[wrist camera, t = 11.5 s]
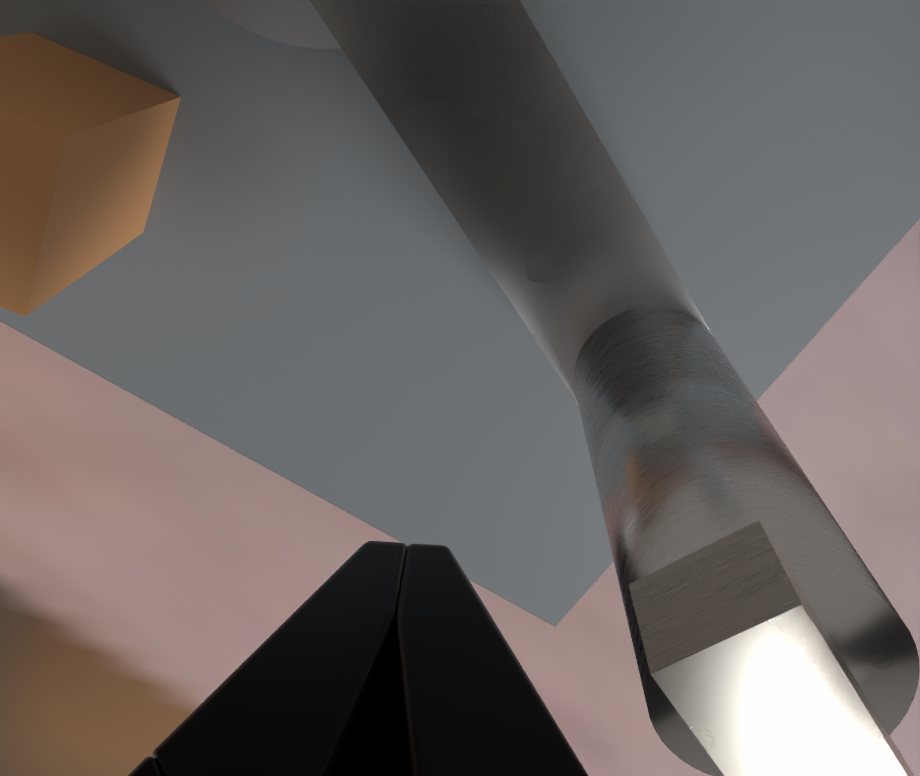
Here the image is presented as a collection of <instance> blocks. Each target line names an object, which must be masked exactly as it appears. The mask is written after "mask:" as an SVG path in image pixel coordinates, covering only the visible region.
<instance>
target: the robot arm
mask: <svg viewBox="0 0 920 776" xmlns="http://www.w3.org/2000/svg"><path fill="white" fill-rule="evenodd" d="M128 776H588V774H587V773H586V771H585V769H584V768H583V766H582V764H581V763H580V761H579V760H578V758H577V756H576V755H575V753H574V751H573V750H572V748H571V746H570V745H569V743H568V742H567V740H566V738H565V737H564V735H563V733H562V732H561V730H560V728H559V727H558V725H557V724H556V722H555V720H554V719H553V717H552V715H551V714H550V712H549V710H548V709H547V707H546V706H545V704H544V702H543V701H542V699H541V697H540V696H539V694H538V692H537V691H536V689H535V688H534V686H533V684H532V683H531V681H530V679H529V678H528V676H527V674H526V673H525V671H524V670H523V668H522V666H521V665H520V663H519V661H518V660H517V658H516V656H515V655H514V653H513V652H512V650H511V648H510V647H509V645H508V643H507V642H506V640H505V638H504V637H503V635H502V634H501V632H500V630H499V629H498V627H497V625H496V624H495V622H494V620H493V619H492V617H491V616H490V614H489V612H488V611H487V609H486V607H485V606H484V604H483V602H482V601H481V599H480V597H479V596H478V594H477V593H476V591H475V589H474V588H473V586H472V584H471V583H470V581H469V579H468V578H467V576H466V575H465V573H464V571H463V570H462V568H461V566H460V565H459V563H458V561H457V560H456V558H455V557H454V555H453V553H452V552H451V550H450V549H449V548H448V547H447V546H444V545H431V544H410V545H408V546H407V545H405V544H404V543H396V542H380V541H369V542H367V543H365V544H364V545H362V546H361V547H360V548H359V549H358V550H357V551H356V552H355V553H354V554H353V555H352V556H351V557H350V558H349V559H348V560H347V561H346V562H345V563H344V564H343V565H342V566H341V567H340V568H339V569H338V570H337V571H336V572H335V573H334V574H333V575H332V576H331V577H330V578H329V579H328V580H327V581H326V582H325V583H324V584H323V585H322V586H321V587H320V588H319V589H318V590H317V591H316V592H315V593H314V594H313V595H312V596H311V597H310V598H309V599H308V600H306V601H305V602H304V603H303V604H302V605H301V606H300V607H299V608H298V609H297V610H296V611H295V612H294V613H293V614H292V615H291V616H290V617H289V618H288V619H287V620H286V621H285V622H284V623H283V624H282V625H281V626H280V627H279V628H278V629H277V630H276V631H275V632H274V633H273V634H272V635H271V636H270V637H269V638H268V639H267V640H266V641H265V642H264V643H263V644H262V645H261V646H260V647H259V648H258V649H257V650H256V651H255V652H254V653H253V654H252V655H251V656H250V657H249V658H248V659H246V660H245V661H244V662H243V663H242V664H241V665H240V666H239V667H238V668H237V669H236V670H235V671H234V672H233V673H232V674H231V675H230V676H229V677H228V678H227V679H226V680H225V681H224V682H223V683H222V684H221V685H220V686H219V687H218V688H217V689H216V690H215V691H214V692H213V693H212V694H211V695H210V696H209V697H208V698H207V699H206V700H205V701H204V702H203V703H202V704H201V705H200V706H199V707H198V708H197V709H196V710H195V711H194V712H193V713H192V714H191V715H190V716H189V717H187V719H185V720H184V721H183V722H182V724H180V725H179V726H178V727H177V728H176V729H175V730H174V731H173V732H172V733H171V734H170V735H169V736H168V737H167V738H166V739H165V740H164V741H163V742H162V743H161V744H160V745H159V746H158V747H157V748H156V749H155V750H154V752H153V757H147V758H145V759H144V760H143V761H142V762H141V763H140V764H139V765H138V766H137V767H136V768H135V769H134V770H133V771H132V772H131V773H130V774H129V775H128Z"/></svg>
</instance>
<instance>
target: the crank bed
mask: <svg viewBox="0 0 920 776" xmlns="http://www.w3.org/2000/svg"><path fill="white" fill-rule="evenodd" d="M520 1H521V3H522V5H523V6H524V8H525V10H526V12H527V13H528V15H529V17H530V19H531V20H532V22H533V24H534V25H535V27H536V29H537V31H538V32H539V34H540V36H541V38H542V39H543V41H544V43H545V45H546V46H547V48H548V50H549V52H550V53H551V55H552V57H553V58H554V60H555V62H556V64H557V65H558V67H559V69H560V71H561V72H562V74H563V76H564V78H565V79H566V81H567V83H568V85H569V86H570V88H571V90H572V91H573V93H574V95H575V97H576V98H577V100H578V102H579V104H580V105H581V107H582V109H583V111H584V112H585V114H586V116H587V118H588V119H589V121H590V123H591V124H592V126H593V128H594V130H595V131H596V133H597V135H598V137H599V138H600V140H601V142H602V144H603V145H604V147H605V149H606V151H607V152H608V154H609V156H610V157H611V159H612V161H613V163H614V164H615V166H616V168H617V170H618V171H619V173H620V175H621V177H622V178H623V180H624V182H625V184H626V185H627V187H628V189H629V190H630V192H631V194H632V196H633V197H634V199H635V201H636V203H637V204H638V206H639V208H640V210H641V211H642V213H643V215H644V217H645V218H646V220H647V222H648V223H649V225H650V227H651V229H652V230H653V232H654V234H655V236H656V237H657V239H658V241H659V243H660V244H661V246H662V248H663V250H664V251H665V253H666V255H667V256H668V258H669V260H670V262H671V263H672V265H673V267H674V269H675V270H676V272H677V274H678V276H679V277H680V279H681V281H682V283H683V284H684V286H685V288H686V289H687V291H688V293H689V295H690V296H691V298H692V300H693V302H694V303H695V305H696V307H697V309H698V310H699V312H700V314H701V316H702V317H703V319H704V321H705V322H706V324H707V326H708V328H709V329H710V331H711V333H712V335H713V336H714V338H715V340H716V341H717V343H718V344H719V346H720V347H721V349H722V350H723V352H724V353H725V355H726V356H727V358H728V359H729V361H730V362H731V364H732V365H733V367H734V368H735V370H736V371H737V373H738V374H739V376H740V377H741V379H742V380H743V382H744V383H745V385H746V386H747V388H748V389H749V391H750V392H751V394H752V395H753V397H754V398H755V400H756V401H757V400H758V399H759V398H760V397H761V395H762V394H763V393H764V392H765V391H766V390H767V389H768V388H769V387H770V385H771V384H772V383H773V382H774V381H775V380H776V379H777V378H778V376H779V375H780V374H781V373H782V372H783V371H784V370H785V369H786V367H787V366H788V365H789V364H790V363H791V362H792V361H793V360H794V358H795V357H796V356H797V355H798V354H799V353H800V352H801V351H802V350H803V348H804V347H805V346H806V345H807V344H808V343H809V342H810V341H811V339H812V338H813V337H814V336H815V335H816V334H817V333H818V332H819V330H820V329H821V328H822V327H823V326H824V325H825V324H826V323H827V322H828V320H829V319H830V318H831V317H832V316H833V315H834V314H835V313H836V311H837V310H838V309H839V308H840V307H841V306H842V305H843V304H844V302H845V301H846V300H847V299H848V298H849V297H850V296H851V295H852V294H853V292H854V291H855V290H856V289H857V288H858V287H859V286H860V285H861V283H862V282H863V281H864V280H865V279H866V278H867V277H868V276H869V274H870V273H871V272H872V271H873V270H874V269H875V268H876V267H877V266H878V264H879V263H880V262H881V261H882V260H883V259H884V258H885V257H886V255H887V254H888V253H889V252H890V251H891V250H892V249H893V248H894V246H895V245H896V244H897V243H898V242H899V241H900V240H901V239H902V238H903V236H904V235H905V234H906V233H907V232H908V231H909V230H910V229H911V227H912V226H913V225H914V224H915V223H916V222H917V221H918V220H919V218H920V0H520ZM0 321H1V322H3V323H4V324H6V325H8V326H10V327H12V328H13V329H15V330H17V331H19V332H21V333H23V334H24V335H26V336H28V337H30V338H32V339H33V340H35V341H37V342H39V343H41V344H43V345H44V346H46V347H48V348H50V349H52V350H53V351H55V352H57V353H59V354H61V355H63V356H64V357H66V358H68V359H70V360H72V361H73V362H75V363H77V364H79V365H81V366H82V367H84V368H86V369H88V370H90V371H92V372H93V373H95V374H97V375H99V376H101V377H102V378H104V379H106V380H108V381H110V382H112V383H113V384H115V385H117V386H119V387H121V388H122V389H124V390H126V391H128V392H130V393H132V394H133V395H135V396H137V397H139V398H141V399H142V400H144V401H146V402H148V403H150V404H151V405H153V406H155V407H157V408H159V409H161V410H162V411H164V412H166V413H168V414H170V415H171V416H173V417H175V418H177V419H179V420H181V421H182V422H184V423H186V424H188V425H190V426H191V427H193V428H195V429H197V430H199V431H201V432H202V433H204V434H206V435H208V436H210V437H211V438H213V439H215V440H217V441H219V442H221V443H222V444H224V445H226V446H228V447H230V448H231V449H233V450H235V451H237V452H239V453H240V454H242V455H244V456H246V457H248V458H250V459H251V460H253V461H255V462H257V463H259V464H260V465H262V466H264V467H266V468H268V469H270V470H271V471H273V472H275V473H277V474H279V475H280V476H282V477H284V478H286V479H288V480H290V481H291V482H293V483H295V484H297V485H299V486H300V487H302V488H304V489H306V490H308V491H309V492H311V493H313V494H315V495H317V496H319V497H320V498H322V499H324V500H326V501H328V502H329V503H331V504H333V505H335V506H337V507H339V508H340V509H342V510H344V511H346V512H348V513H349V514H351V515H353V516H355V517H357V518H359V519H360V520H362V521H364V522H366V523H368V524H369V525H371V526H373V527H375V528H377V529H378V530H380V531H382V532H384V533H386V534H388V535H389V536H391V537H393V538H395V539H397V540H398V541H400V542H402V543H404V544H406V545H410V544H431V545H444V546H447V547H448V548H449V549H450V550H451V552H452V553H453V555H454V557H455V558H456V560H457V561H458V563H459V565H460V566H461V568H462V570H463V571H464V573H465V575H466V576H467V578H468V579H469V580H471V581H473V582H475V583H477V584H478V585H480V586H482V587H484V588H486V589H487V590H489V591H491V592H493V593H495V594H497V595H498V596H500V597H502V598H504V599H506V600H507V601H509V602H511V603H513V604H515V605H516V606H518V607H520V608H522V609H524V610H526V611H527V612H529V613H531V614H533V615H535V616H536V617H538V618H540V619H542V620H544V621H546V622H547V623H549V624H551V625H553V626H556V625H557V624H558V623H559V622H560V621H561V619H562V618H563V617H564V616H565V615H566V614H567V613H568V612H569V611H570V609H571V608H572V607H573V606H574V605H575V604H576V603H577V602H578V600H579V599H580V598H581V597H582V596H583V595H584V594H585V593H586V591H587V590H588V589H589V588H590V587H591V586H592V585H593V584H594V583H595V581H596V580H597V579H598V578H599V577H600V576H601V575H602V574H603V572H604V571H605V570H606V569H607V568H608V567H609V566H610V565H611V563H612V562H613V561H614V559H613V555H612V551H611V546H610V542H609V537H608V533H607V529H606V524H605V520H604V516H603V511H602V507H601V503H600V498H599V494H598V490H597V485H596V481H595V476H594V472H593V468H592V463H591V459H590V455H589V450H588V446H587V442H586V437H585V433H584V428H583V424H582V420H581V415H580V411H579V407H578V403H577V402H576V400H575V399H574V397H573V396H572V394H571V393H570V391H569V390H568V388H567V387H566V385H565V384H564V382H563V381H562V379H561V378H560V376H559V375H558V373H557V372H556V370H555V368H554V367H553V365H552V364H551V362H550V361H549V359H548V358H547V356H546V355H545V353H544V352H543V350H542V349H541V347H540V346H539V344H538V343H537V341H536V340H535V338H534V337H533V335H532V334H531V332H530V331H529V329H528V328H527V326H526V325H525V323H524V322H523V320H522V319H521V317H520V316H519V314H518V313H517V311H516V310H515V308H514V307H513V305H512V304H511V302H510V301H509V299H508V298H507V296H506V295H505V293H504V292H503V290H502V289H501V287H500V286H499V284H498V283H497V281H496V280H495V278H494V277H493V275H492V274H491V272H490V271H489V269H488V268H487V266H486V265H485V263H484V262H483V260H482V259H481V257H480V256H479V254H478V253H477V251H476V250H475V248H474V247H473V245H472V244H471V242H470V241H469V239H468V238H467V236H466V235H465V233H464V232H463V230H462V229H461V227H460V226H459V224H458V223H457V221H456V220H455V218H454V216H453V215H452V213H451V212H450V210H449V209H448V207H447V206H446V204H445V203H444V201H443V200H442V198H441V197H440V195H439V194H438V192H437V191H436V189H435V188H434V186H433V185H432V183H431V182H430V180H429V179H428V177H427V176H426V174H425V173H424V171H423V170H422V168H421V167H420V165H419V164H418V162H417V161H416V159H415V158H414V156H413V155H412V153H411V152H410V150H409V149H408V147H407V146H406V144H405V143H404V141H403V140H402V138H401V137H400V135H399V134H398V132H397V131H396V129H395V128H394V126H393V125H392V123H391V122H390V120H389V119H388V117H387V116H386V114H385V113H384V111H383V110H382V108H381V107H380V105H379V104H378V102H377V101H376V99H375V98H374V96H373V95H372V93H371V92H370V90H369V89H368V87H367V86H366V84H365V83H364V81H363V80H362V78H361V77H360V75H359V74H358V72H357V71H356V69H355V68H354V66H353V64H352V63H351V61H350V60H349V58H348V57H347V55H346V54H345V52H344V51H343V49H342V48H341V46H340V45H339V43H338V42H337V40H336V39H335V37H334V36H333V34H332V33H331V31H330V30H329V28H328V27H327V25H326V24H325V22H324V21H323V19H322V18H321V16H320V15H319V13H318V12H317V10H316V9H315V7H314V6H313V4H312V3H311V1H310V0H0Z"/></svg>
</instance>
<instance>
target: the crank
mask: <svg viewBox="0 0 920 776" xmlns="http://www.w3.org/2000/svg"><path fill="white" fill-rule="evenodd" d="M310 1H311V3H312V4H313V6H314V7H315V9H316V10H317V12H318V13H319V15H320V16H321V18H322V19H323V21H324V22H325V24H326V25H327V27H328V28H329V30H330V31H331V33H332V34H333V36H334V37H335V39H336V40H337V42H338V43H339V45H340V46H341V48H342V49H343V51H344V52H345V54H346V55H347V57H348V58H349V60H350V61H351V63H352V64H353V66H354V68H355V69H356V71H357V72H358V74H359V75H360V77H361V78H362V80H363V81H364V83H365V84H366V86H367V87H368V89H369V90H370V92H371V93H372V95H373V96H374V98H375V99H376V101H377V102H378V104H379V105H380V107H381V108H382V110H383V111H384V113H385V114H386V116H387V117H388V119H389V120H390V122H391V123H392V125H393V126H394V128H395V129H396V131H397V132H398V134H399V135H400V137H401V138H402V140H403V141H404V143H405V144H406V146H407V147H408V149H409V150H410V152H411V153H412V155H413V156H414V158H415V159H416V161H417V162H418V164H419V165H420V167H421V168H422V170H423V171H424V173H425V174H426V176H427V177H428V179H429V180H430V182H431V183H432V185H433V186H434V188H435V189H436V191H437V192H438V194H439V195H440V197H441V198H442V200H443V201H444V203H445V204H446V206H447V207H448V209H449V210H450V212H451V213H452V215H453V216H454V218H455V220H456V221H457V223H458V224H459V226H460V227H461V229H462V230H463V232H464V233H465V235H466V236H467V238H468V239H469V241H470V242H471V244H472V245H473V247H474V248H475V250H476V251H477V253H478V254H479V256H480V257H481V259H482V260H483V262H484V263H485V265H486V266H487V268H488V269H489V271H490V272H491V274H492V275H493V277H494V278H495V280H496V281H497V283H498V284H499V286H500V287H501V289H502V290H503V292H504V293H505V295H506V296H507V298H508V299H509V301H510V302H511V304H512V305H513V307H514V308H515V310H516V311H517V313H518V314H519V316H520V317H521V319H522V320H523V322H524V323H525V325H526V326H527V328H528V329H529V331H530V332H531V334H532V335H533V337H534V338H535V340H536V341H537V343H538V344H539V346H540V347H541V349H542V350H543V352H544V353H545V355H546V356H547V358H548V359H549V361H550V362H551V364H552V365H553V367H554V368H555V370H556V372H557V373H558V375H559V376H560V378H561V379H562V381H563V382H564V384H565V385H566V387H567V388H568V390H569V391H570V393H571V394H572V396H573V397H574V399H575V400H576V402H577V403H578V407H579V411H580V415H581V420H582V424H583V428H584V433H585V437H586V442H587V446H588V450H589V455H590V459H591V463H592V468H593V472H594V476H595V481H596V485H597V490H598V494H599V498H600V503H601V507H602V511H603V516H604V520H605V524H606V529H607V533H608V537H609V542H610V546H611V551H612V555H613V559H614V564H615V568H616V572H617V577H618V581H619V585H620V590H621V594H622V598H623V603H624V607H625V612H626V616H627V620H628V625H629V629H630V633H631V638H632V642H633V646H634V651H635V655H636V659H637V664H638V668H639V673H640V677H641V681H642V686H643V690H644V694H645V699H646V703H647V707H648V712H649V716H650V719H651V722H652V724H653V726H654V729H655V731H656V732H657V734H658V735H659V737H660V739H661V740H662V741H663V743H664V744H665V745H666V746H667V747H668V748H669V749H670V750H671V751H672V752H673V753H674V754H675V755H676V756H678V757H679V758H680V759H681V760H683V761H684V762H686V763H687V764H689V765H690V766H692V767H694V768H696V769H698V770H700V771H702V772H704V773H706V774H709V775H712V776H914V774H913V773H912V771H911V770H910V768H909V766H908V765H907V763H906V761H905V760H904V758H903V756H902V755H901V753H900V751H899V750H898V748H897V747H896V745H895V743H894V742H893V740H892V738H891V737H890V734H891V733H892V732H893V730H894V729H895V728H896V727H897V726H898V725H899V724H900V722H901V720H902V719H903V717H904V716H905V714H906V713H907V711H908V709H909V707H910V705H911V703H912V701H913V699H914V696H915V692H916V689H917V686H918V679H919V657H918V653H917V649H916V644H915V642H914V640H913V638H912V636H911V633H910V631H909V630H908V628H907V627H906V625H905V624H904V622H903V621H902V619H901V618H900V616H899V615H898V613H897V612H896V610H895V609H894V607H893V606H892V604H891V603H890V601H889V600H888V598H887V597H886V595H885V594H884V592H883V591H882V589H881V588H880V586H879V585H878V583H877V582H876V580H875V579H874V577H873V576H872V574H871V573H870V571H869V570H868V568H867V567H866V565H865V564H864V562H863V561H862V559H861V558H860V556H859V555H858V553H857V552H856V550H855V549H854V547H853V546H852V544H851V543H850V541H849V540H848V538H847V537H846V535H845V534H844V532H843V531H842V529H841V528H840V526H839V525H838V523H837V522H836V520H835V519H834V517H833V516H832V514H831V513H830V511H829V510H828V508H827V507H826V505H825V504H824V502H823V501H822V499H821V498H820V496H819V495H818V493H817V492H816V490H815V489H814V487H813V486H812V484H811V483H810V481H809V480H808V478H807V477H806V475H805V473H804V472H803V470H802V469H801V467H800V466H799V464H798V463H797V461H796V460H795V458H794V457H793V455H792V454H791V452H790V451H789V449H788V448H787V446H786V445H785V443H784V442H783V440H782V439H781V437H780V436H779V434H778V433H777V431H776V430H775V428H774V427H773V425H772V424H771V422H770V421H769V419H768V418H767V416H766V415H765V413H764V412H763V410H762V409H761V407H760V406H759V404H758V403H757V401H756V400H755V398H754V397H753V395H752V394H751V392H750V391H749V389H748V388H747V386H746V385H745V383H744V382H743V380H742V379H741V377H740V376H739V374H738V373H737V371H736V370H735V368H734V367H733V365H732V364H731V362H730V361H729V359H728V358H727V356H726V355H725V353H724V352H723V350H722V349H721V347H720V346H719V344H718V343H717V341H716V340H715V338H714V336H713V335H712V333H711V331H710V329H709V328H708V326H707V324H706V322H705V321H704V319H703V317H702V316H701V314H700V312H699V310H698V309H697V307H696V305H695V303H694V302H693V300H692V298H691V296H690V295H689V293H688V291H687V289H686V288H685V286H684V284H683V283H682V281H681V279H680V277H679V276H678V274H677V272H676V270H675V269H674V267H673V265H672V263H671V262H670V260H669V258H668V256H667V255H666V253H665V251H664V250H663V248H662V246H661V244H660V243H659V241H658V239H657V237H656V236H655V234H654V232H653V230H652V229H651V227H650V225H649V223H648V222H647V220H646V218H645V217H644V215H643V213H642V211H641V210H640V208H639V206H638V204H637V203H636V201H635V199H634V197H633V196H632V194H631V192H630V190H629V189H628V187H627V185H626V184H625V182H624V180H623V178H622V177H621V175H620V173H619V171H618V170H617V168H616V166H615V164H614V163H613V161H612V159H611V157H610V156H609V154H608V152H607V151H606V149H605V147H604V145H603V144H602V142H601V140H600V138H599V137H598V135H597V133H596V131H595V130H594V128H593V126H592V124H591V123H590V121H589V119H588V118H587V116H586V114H585V112H584V111H583V109H582V107H581V105H580V104H579V102H578V100H577V98H576V97H575V95H574V93H573V91H572V90H571V88H570V86H569V85H568V83H567V81H566V79H565V78H564V76H563V74H562V72H561V71H560V69H559V67H558V65H557V64H556V62H555V60H554V58H553V57H552V55H551V53H550V52H549V50H548V48H547V46H546V45H545V43H544V41H543V39H542V38H541V36H540V34H539V32H538V31H537V29H536V27H535V25H534V24H533V22H532V20H531V19H530V17H529V15H528V13H527V12H526V10H525V8H524V6H523V5H522V3H521V1H520V0H310Z"/></svg>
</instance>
